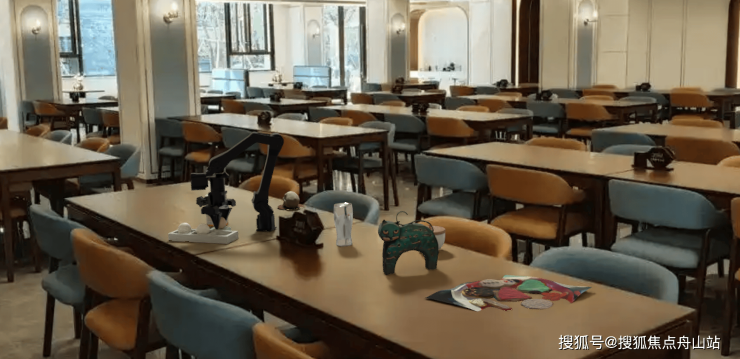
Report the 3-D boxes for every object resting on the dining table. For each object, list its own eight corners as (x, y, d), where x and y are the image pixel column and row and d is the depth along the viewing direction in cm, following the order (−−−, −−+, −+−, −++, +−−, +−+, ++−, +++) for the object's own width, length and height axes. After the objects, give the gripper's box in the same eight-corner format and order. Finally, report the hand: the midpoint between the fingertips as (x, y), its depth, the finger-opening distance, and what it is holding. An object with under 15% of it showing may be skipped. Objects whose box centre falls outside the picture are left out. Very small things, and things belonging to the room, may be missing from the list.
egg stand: (231, 231, 325) (230, 226, 325) (223, 235, 319) (223, 230, 319) (216, 230, 327) (216, 226, 327) (209, 234, 321) (208, 229, 321)
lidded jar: (443, 254, 281) (443, 228, 280) (413, 253, 284) (412, 227, 282) (447, 247, 292) (446, 221, 290) (417, 246, 294) (417, 221, 292)
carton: (238, 238, 314) (237, 222, 313) (227, 243, 305) (226, 227, 304) (180, 235, 321) (179, 219, 320) (168, 240, 313) (167, 224, 312)
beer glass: (351, 247, 295) (350, 206, 293) (332, 246, 297) (331, 206, 294) (355, 242, 302) (354, 202, 300) (337, 242, 303) (336, 202, 301)
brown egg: (228, 228, 325) (228, 215, 324) (222, 231, 320) (222, 218, 319) (217, 227, 326) (216, 214, 325) (211, 230, 321) (210, 217, 320)
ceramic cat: (381, 276, 257) (380, 214, 254) (376, 271, 263) (374, 210, 260) (440, 270, 262) (440, 209, 259) (434, 265, 268) (433, 205, 265)
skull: (271, 205, 373) (284, 187, 375) (287, 218, 377) (300, 200, 379) (281, 208, 362) (294, 190, 364) (297, 221, 367) (310, 203, 369)
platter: (491, 273, 259) (491, 268, 258) (593, 294, 236) (593, 287, 235) (424, 300, 233) (424, 294, 233) (531, 326, 210) (531, 319, 210)
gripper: (210, 184, 332) (213, 221, 334) (187, 192, 314) (190, 232, 316) (235, 185, 328) (237, 222, 331) (213, 193, 311) (215, 233, 313)
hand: (219, 227), depth 323 cm, fingers closed on brown egg, 5 cm apart
